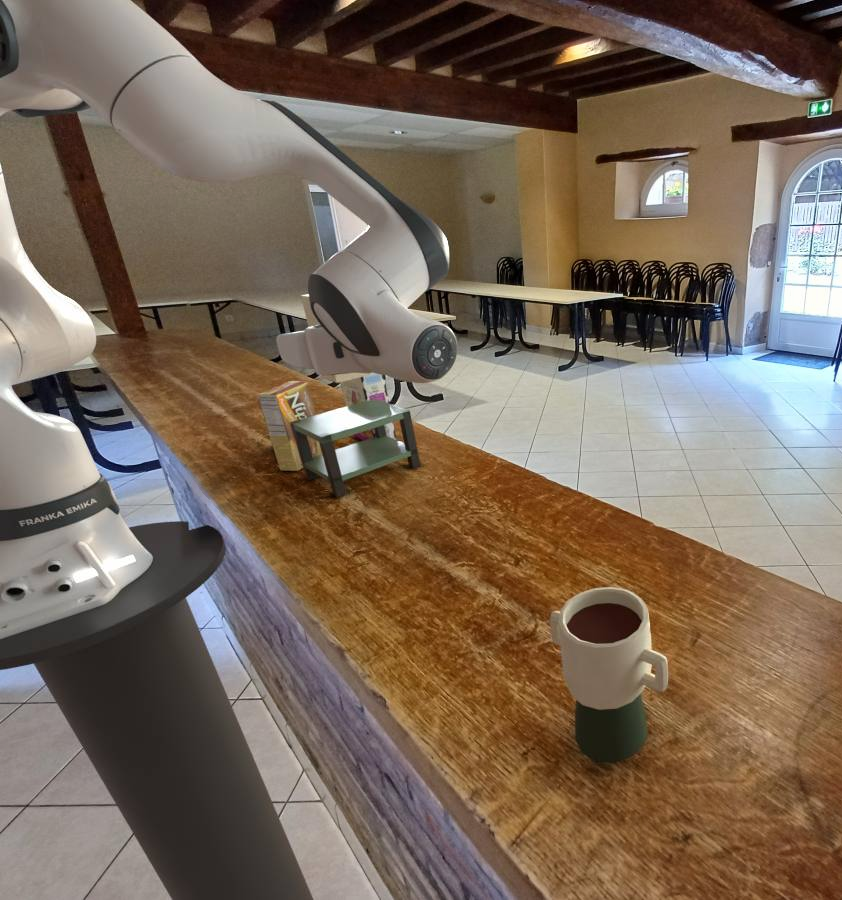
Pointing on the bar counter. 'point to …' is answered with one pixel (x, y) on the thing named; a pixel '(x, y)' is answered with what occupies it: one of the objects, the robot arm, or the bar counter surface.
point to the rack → (360, 454)
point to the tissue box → (313, 321)
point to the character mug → (608, 669)
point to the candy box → (288, 421)
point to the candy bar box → (367, 398)
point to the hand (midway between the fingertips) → (332, 332)
